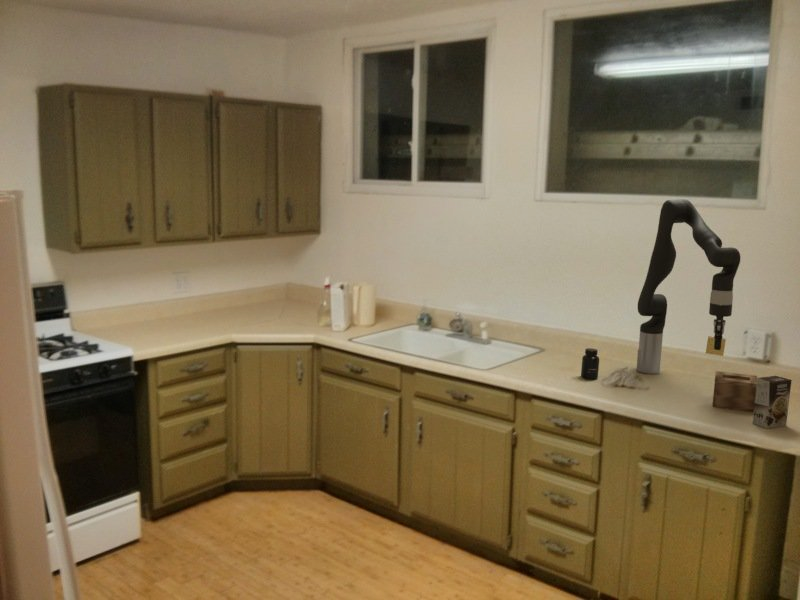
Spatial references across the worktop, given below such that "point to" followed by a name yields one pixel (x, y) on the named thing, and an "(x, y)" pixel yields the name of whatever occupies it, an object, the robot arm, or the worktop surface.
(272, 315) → the worktop surface
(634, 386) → the worktop surface
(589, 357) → the supplement bottle
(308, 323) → the worktop surface
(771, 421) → the coffee box
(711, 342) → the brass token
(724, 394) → the box
